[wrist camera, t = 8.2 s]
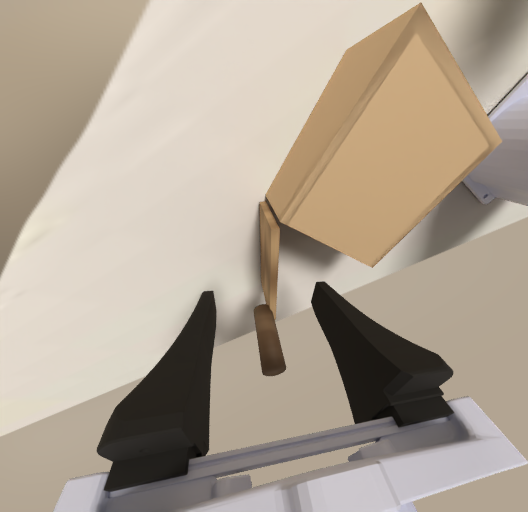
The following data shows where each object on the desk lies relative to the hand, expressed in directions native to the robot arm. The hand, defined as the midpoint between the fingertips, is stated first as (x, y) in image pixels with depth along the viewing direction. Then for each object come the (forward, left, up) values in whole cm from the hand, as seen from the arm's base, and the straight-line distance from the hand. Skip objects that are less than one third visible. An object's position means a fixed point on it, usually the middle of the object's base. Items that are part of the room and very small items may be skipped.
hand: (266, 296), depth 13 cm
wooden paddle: (-1, +1, -8) cm, 8 cm away
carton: (-4, -10, -8) cm, 14 cm away
